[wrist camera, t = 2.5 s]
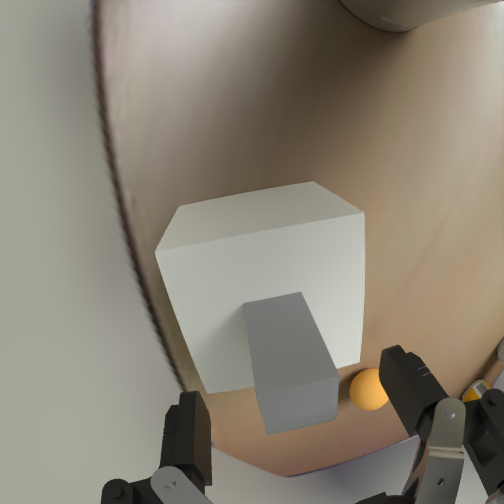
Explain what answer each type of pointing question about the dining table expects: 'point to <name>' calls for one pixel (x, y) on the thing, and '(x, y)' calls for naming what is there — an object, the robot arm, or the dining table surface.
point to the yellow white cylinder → (475, 390)
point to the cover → (270, 296)
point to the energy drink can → (501, 351)
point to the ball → (368, 390)
